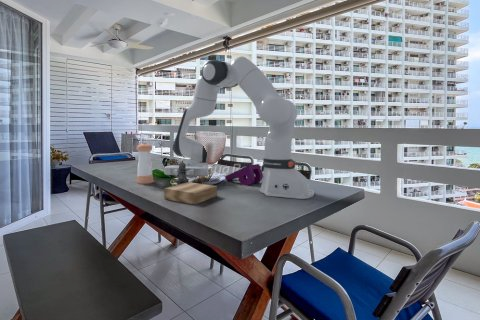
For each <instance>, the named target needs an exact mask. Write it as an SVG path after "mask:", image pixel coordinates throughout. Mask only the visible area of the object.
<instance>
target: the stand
mask: <svg viewBox="0 0 480 320" xmlns="http://www.w3.org/2000/svg"><path fill="white" fill-rule="evenodd" d="M163 191H164V195H163V196H164V200H167V199H168V200H169V201H174V202H178V203H183V204H185V203H186V204H188V205H197V204H200V203H203V202H205V201H208V200H211V199H213V198H216V197H218V186H217V185H212V184H206V183H205V184H204V183H197V182H191V181H188V183H184V184H180V185H178V184H176V185H173V186H169V187H164V189H163Z"/></svg>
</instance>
